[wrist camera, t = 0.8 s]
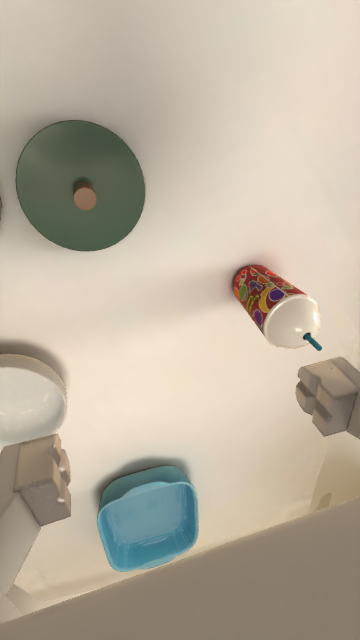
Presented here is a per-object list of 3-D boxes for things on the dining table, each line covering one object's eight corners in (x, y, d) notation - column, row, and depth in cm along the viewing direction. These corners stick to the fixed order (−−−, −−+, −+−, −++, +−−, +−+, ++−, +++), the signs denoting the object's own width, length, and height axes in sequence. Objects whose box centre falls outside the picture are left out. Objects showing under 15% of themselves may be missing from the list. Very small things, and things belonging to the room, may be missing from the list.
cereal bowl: (-58, 341, 49) (-74, 372, 43) (64, 335, 54) (64, 363, 48) (-35, 424, 58) (-46, 460, 52) (69, 413, 63) (69, 444, 57)
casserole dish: (192, 527, 96) (200, 555, 90) (112, 553, 92) (115, 583, 86) (187, 442, 76) (197, 470, 70) (85, 469, 72) (87, 502, 66)
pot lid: (9, 231, 44) (3, 245, 40) (27, 96, 38) (21, 95, 33) (125, 259, 50) (131, 273, 46) (158, 148, 44) (168, 152, 40)
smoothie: (219, 272, 56) (282, 341, 40) (264, 248, 56) (346, 307, 39) (234, 310, 61) (296, 385, 44) (276, 288, 61) (353, 355, 44)
